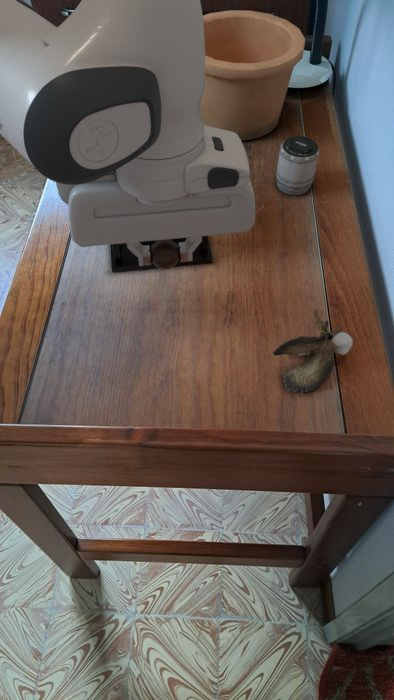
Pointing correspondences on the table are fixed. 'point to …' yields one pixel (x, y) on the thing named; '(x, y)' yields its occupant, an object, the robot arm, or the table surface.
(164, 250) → the tan piece
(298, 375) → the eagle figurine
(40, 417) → the table surface
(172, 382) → the table surface
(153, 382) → the table surface
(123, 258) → the stand
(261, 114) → the pottery
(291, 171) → the camera lens
